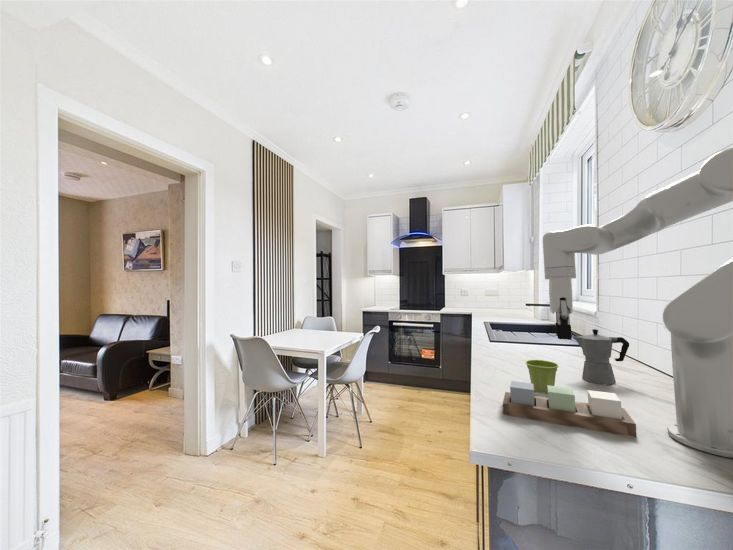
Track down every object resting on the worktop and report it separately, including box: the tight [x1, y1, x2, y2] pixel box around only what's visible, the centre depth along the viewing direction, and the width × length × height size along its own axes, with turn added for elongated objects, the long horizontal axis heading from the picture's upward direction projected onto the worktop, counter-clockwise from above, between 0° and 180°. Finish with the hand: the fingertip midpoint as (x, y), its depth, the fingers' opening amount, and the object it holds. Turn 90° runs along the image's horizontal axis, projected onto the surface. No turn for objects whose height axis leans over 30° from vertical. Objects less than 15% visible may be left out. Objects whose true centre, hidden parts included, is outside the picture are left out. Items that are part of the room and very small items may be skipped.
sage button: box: [547, 385, 576, 412], centre depth 75 cm, size 6×6×5 cm
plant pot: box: [524, 359, 560, 394], centre depth 94 cm, size 9×9×9 cm
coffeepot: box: [572, 328, 630, 385], centre depth 101 cm, size 15×9×18 cm, turn 56°
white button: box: [587, 389, 623, 419], centre depth 71 cm, size 6×6×5 cm
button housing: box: [502, 391, 638, 438], centre depth 75 cm, size 27×9×3 cm, turn 60°
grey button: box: [509, 380, 535, 406], centre depth 79 cm, size 6×6×5 cm
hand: (563, 337), depth 82 cm, fingers open, 4 cm apart
